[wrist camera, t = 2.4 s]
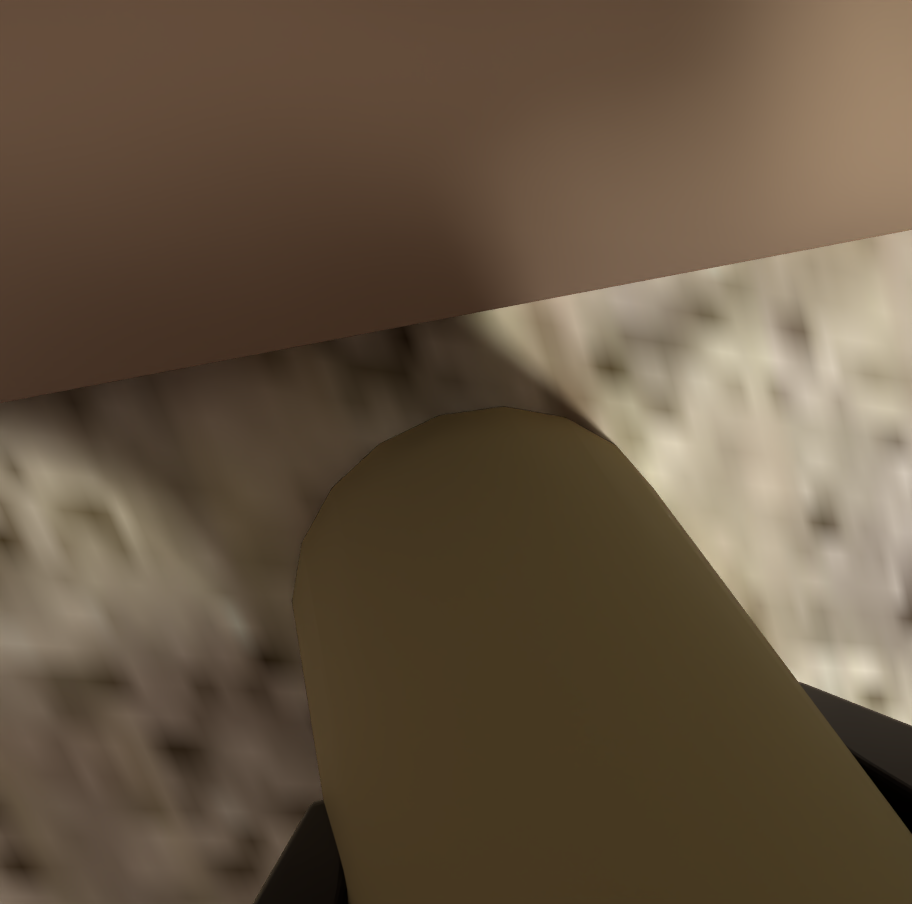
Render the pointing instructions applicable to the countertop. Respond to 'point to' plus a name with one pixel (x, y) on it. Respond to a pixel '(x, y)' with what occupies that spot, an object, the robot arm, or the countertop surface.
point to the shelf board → (414, 162)
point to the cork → (560, 692)
